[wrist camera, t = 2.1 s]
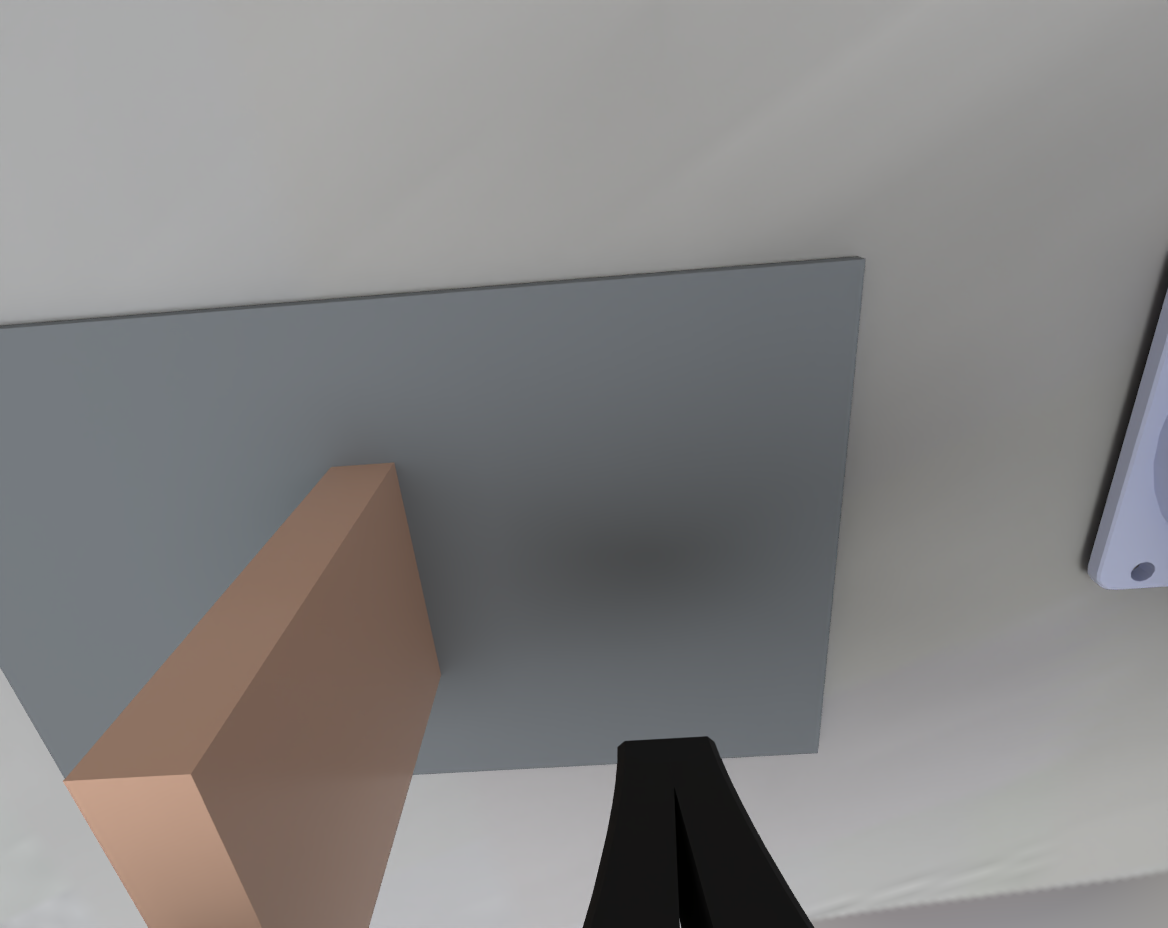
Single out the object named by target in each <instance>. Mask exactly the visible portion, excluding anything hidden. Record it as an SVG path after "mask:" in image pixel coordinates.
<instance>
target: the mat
mask: <svg viewBox="0 0 1168 928" xmlns="http://www.w3.org/2000/svg"><path fill="white" fill-rule="evenodd" d="M864 270H865V259H864V258H861V257H845V258H833V259H821V260H808V261H796V262H784V263H771V264H759V265H747V266H734V267H722V268H710V269H697V270H685V271H673V272H660V273H648V274H636V275H623V276H611V277H598V278H586V279H574V280H561V281H549V282H537V283H524V284H512V285H500V286H487V287H475V288H463V289H450V290H438V291H426V292H413V293H401V294H389V295H376V296H364V297H352V298H339V299H327V300H315V301H302V302H290V303H278V304H265V305H253V306H241V307H228V308H216V309H203V310H191V311H179V312H166V313H154V314H142V315H129V316H117V317H105V318H92V319H80V320H68V321H55V322H43V323H31V324H18V325H6V326H0V668H1V670H2V671H3V673H4V675H5V676H6V678H7V680H8V682H9V683H10V685H11V687H12V688H13V690H14V692H15V694H16V695H17V697H18V699H19V701H20V702H21V704H22V706H23V707H24V709H25V711H26V713H27V714H28V716H29V718H30V720H31V721H32V723H33V725H34V726H35V728H36V730H37V732H38V733H39V735H40V737H41V739H42V740H43V742H44V744H45V745H46V747H47V749H48V751H49V752H50V754H51V756H52V757H53V759H54V761H55V763H56V764H57V766H58V768H59V770H60V771H61V773H62V775H63V776H64V778H66V777H67V776H68V775H69V774H70V772H71V771H72V770H73V769H74V768H75V767H76V765H77V764H78V763H79V762H80V761H81V760H82V758H83V757H84V756H85V755H86V754H87V753H88V751H89V750H90V749H91V748H92V747H93V745H94V744H95V743H96V742H97V741H98V740H99V738H100V737H101V736H102V735H103V734H104V733H105V731H106V730H107V729H108V728H109V727H110V726H111V724H112V723H113V722H114V721H115V720H116V719H117V717H118V716H119V715H120V714H121V713H122V712H123V710H124V709H125V708H126V707H127V706H128V704H129V703H130V702H131V701H132V700H133V699H134V697H135V696H136V695H137V694H138V693H139V692H140V690H141V689H142V688H143V687H144V686H145V685H146V683H147V682H148V681H149V680H150V679H151V678H152V676H153V675H154V674H155V673H156V672H157V670H158V669H159V668H160V667H161V666H162V665H163V663H164V662H165V661H166V660H167V659H168V658H169V656H170V655H171V654H172V653H173V652H174V651H175V649H176V648H177V647H178V646H179V645H180V644H181V642H182V641H183V640H184V639H185V638H186V637H187V635H188V634H189V633H190V632H191V631H192V629H193V628H194V627H195V626H196V625H197V624H198V622H199V621H200V620H201V619H202V618H203V617H204V615H205V614H206V613H207V612H208V611H209V610H210V608H211V607H212V606H213V605H214V604H215V603H216V601H217V600H218V599H219V598H220V597H221V596H222V594H223V593H224V592H225V591H226V590H227V588H228V587H229V586H230V585H231V584H232V583H233V581H234V580H235V579H236V578H237V577H238V576H239V574H240V573H241V572H242V571H243V570H244V569H245V567H246V566H247V565H248V564H249V563H250V562H251V560H252V559H253V558H254V557H255V556H256V554H257V553H258V552H259V551H260V550H261V549H262V547H263V546H264V545H265V544H266V543H267V542H268V540H269V539H270V538H271V537H272V536H273V535H274V533H275V532H276V531H277V530H278V529H279V528H280V526H281V525H282V524H283V523H284V522H285V521H286V519H287V518H288V517H289V516H290V515H291V513H292V512H293V511H294V510H295V509H296V508H297V506H298V505H299V504H300V503H301V502H302V501H303V499H304V498H305V497H306V496H307V495H308V494H309V492H310V491H311V490H312V489H313V488H314V487H315V485H316V484H317V483H318V482H319V481H320V479H321V478H322V477H323V476H324V475H325V474H326V472H327V471H328V470H329V469H330V468H331V467H338V466H352V465H366V464H380V463H395V468H396V473H397V477H398V482H399V486H400V491H401V495H402V500H403V504H404V509H405V513H406V518H407V522H408V527H409V532H410V536H411V541H412V545H413V550H414V554H415V559H416V563H417V568H418V572H419V577H420V582H421V586H422V591H423V595H424V600H425V604H426V609H427V613H428V618H429V622H430V627H431V631H432V636H433V641H434V645H435V650H436V654H437V659H438V663H439V668H440V672H441V677H440V681H439V684H438V688H437V691H436V695H435V698H434V702H433V705H432V709H431V712H430V715H429V719H428V722H427V726H426V729H425V733H424V736H423V740H422V743H421V747H420V750H419V754H418V757H417V761H416V764H415V768H414V771H413V775H419V774H437V773H456V772H475V771H493V770H512V769H530V768H549V767H568V766H586V765H605V764H617V747H618V746H619V745H620V744H622V743H623V742H624V741H631V740H649V739H667V738H684V737H702V736H708V737H709V738H710V739H712V740H713V741H714V742H715V744H716V747H717V749H718V752H719V754H720V757H721V758H735V757H754V756H773V755H791V754H810V753H818V746H819V736H820V725H821V715H822V705H823V694H824V684H825V674H826V663H827V653H828V643H829V632H830V622H831V611H832V601H833V591H834V580H835V570H836V560H837V549H838V539H839V529H840V518H841V508H842V497H843V487H844V477H845V466H846V456H847V446H848V435H849V425H850V415H851V404H852V394H853V383H854V373H855V363H856V352H857V342H858V332H859V321H860V311H861V301H862V290H863V280H864Z"/></svg>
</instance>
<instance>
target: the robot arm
mask: <svg viewBox="0 0 1168 928" xmlns="http://www.w3.org/2000/svg"><path fill="white" fill-rule="evenodd" d="M1139 564H1140V565H1139ZM1137 565H1139V566H1138V567H1137V568H1135V569H1134V570H1133V568H1134V567H1136V566H1137ZM1088 574H1089V576H1090V578H1091V579H1092V580H1093V581H1095V582H1096V583H1097V584H1098V585H1099V586H1101V587H1103V588H1105V589H1110V590H1119V589H1135V588H1151V587H1167V586H1168V289H1167V293H1166V296H1165V300H1164V303H1163V307H1162V310H1161V313H1160V317H1159V320H1158V324H1157V327H1156V331H1155V334H1154V338H1153V341H1152V345H1151V348H1150V352H1149V355H1148V359H1147V362H1146V366H1145V369H1144V373H1143V376H1142V380H1141V383H1140V387H1139V390H1138V394H1137V397H1136V401H1135V404H1134V408H1133V411H1132V414H1131V418H1130V421H1129V425H1128V428H1127V432H1126V435H1125V439H1124V442H1123V446H1122V449H1121V453H1120V456H1119V460H1118V463H1117V467H1116V470H1115V474H1114V477H1113V481H1112V484H1111V488H1110V491H1109V495H1108V498H1107V502H1106V505H1105V508H1104V512H1103V515H1102V519H1101V522H1100V526H1099V529H1098V533H1097V536H1096V540H1095V543H1094V547H1093V550H1092V554H1091V557H1090V561H1089V564H1088ZM679 918H680V921H679ZM680 923H681V928H814V926H813V925H812V923H811V922H810V920H809V918H808V917H807V915H806V914H805V912H804V910H803V909H802V907H801V906H800V904H799V902H798V901H797V899H796V898H795V896H794V894H793V893H792V891H791V889H790V888H789V886H788V884H787V882H786V881H785V879H784V877H783V876H782V874H781V872H780V871H779V869H778V867H777V865H776V864H775V862H774V860H773V859H772V857H771V855H770V854H769V852H768V850H767V848H766V847H765V845H764V843H763V841H762V840H761V838H760V836H759V834H758V832H757V831H756V829H755V827H754V825H753V823H752V821H751V819H750V817H749V815H748V814H747V812H746V810H745V808H744V806H743V804H742V802H741V800H740V798H739V796H738V794H737V792H736V790H735V788H734V786H733V784H732V782H731V780H730V777H729V775H728V773H727V771H726V769H725V766H724V764H723V762H722V759H721V757H720V754H719V752H718V749H717V747H716V744H715V742H714V741H713V740H712V739H710V738H709V737H708V736H702V737H684V738H667V739H649V740H631V741H624V742H623V743H622V744H620V745H619V746H618V747H617V772H616V782H615V790H614V797H613V804H612V809H611V815H610V820H609V825H608V831H607V836H606V840H605V844H604V848H603V852H602V857H601V861H600V865H599V869H598V874H597V878H596V882H595V886H594V890H593V894H592V898H591V901H590V905H589V908H588V911H587V915H586V918H585V922H584V925H583V928H680Z"/></svg>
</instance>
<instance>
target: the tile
mask: <svg viewBox="0 0 1168 928" xmlns="http://www.w3.org/2000/svg"><path fill="white" fill-rule="evenodd" d="M440 677H441V672H440V668H439V663H438V659H437V654H436V650H435V645H434V641H433V636H432V631H431V627H430V622H429V618H428V613H427V609H426V604H425V600H424V595H423V591H422V586H421V582H420V577H419V572H418V568H417V563H416V559H415V554H414V550H413V545H412V541H411V536H410V532H409V527H408V522H407V518H406V513H405V509H404V504H403V500H402V495H401V491H400V486H399V482H398V477H397V473H396V468H395V463H380V464H366V465H352V466H338V467H331V468H330V469H329V470H328V471H327V472H326V474H325V475H324V476H323V477H322V478H321V479H320V481H319V482H318V483H317V484H316V485H315V487H314V488H313V489H312V490H311V491H310V492H309V494H308V495H307V496H306V497H305V498H304V499H303V501H302V502H301V503H300V504H299V505H298V506H297V508H296V509H295V510H294V511H293V512H292V513H291V515H290V516H289V517H288V518H287V519H286V521H285V522H284V523H283V524H282V525H281V526H280V528H279V529H278V530H277V531H276V532H275V533H274V535H273V536H272V537H271V538H270V539H269V540H268V542H267V543H266V544H265V545H264V546H263V547H262V549H261V550H260V551H259V552H258V553H257V554H256V556H255V557H254V558H253V559H252V560H251V562H250V563H249V564H248V565H247V566H246V567H245V569H244V570H243V571H242V572H241V573H240V574H239V576H238V577H237V578H236V579H235V580H234V581H233V583H232V584H231V585H230V586H229V587H228V588H227V590H226V591H225V592H224V593H223V594H222V596H221V597H220V598H219V599H218V600H217V601H216V603H215V604H214V605H213V606H212V607H211V608H210V610H209V611H208V612H207V613H206V614H205V615H204V617H203V618H202V619H201V620H200V621H199V622H198V624H197V625H196V626H195V627H194V628H193V629H192V631H191V632H190V633H189V634H188V635H187V637H186V638H185V639H184V640H183V641H182V642H181V644H180V645H179V646H178V647H177V648H176V649H175V651H174V652H173V653H172V654H171V655H170V656H169V658H168V659H167V660H166V661H165V662H164V663H163V665H162V666H161V667H160V668H159V669H158V670H157V672H156V673H155V674H154V675H153V676H152V678H151V679H150V680H149V681H148V682H147V683H146V685H145V686H144V687H143V688H142V689H141V690H140V692H139V693H138V694H137V695H136V696H135V697H134V699H133V700H132V701H131V702H130V703H129V704H128V706H127V707H126V708H125V709H124V710H123V712H122V713H121V714H120V715H119V716H118V717H117V719H116V720H115V721H114V722H113V723H112V724H111V726H110V727H109V728H108V729H107V730H106V731H105V733H104V734H103V735H102V736H101V737H100V738H99V740H98V741H97V742H96V743H95V744H94V745H93V747H92V748H91V749H90V750H89V751H88V753H87V754H86V755H85V756H84V757H83V758H82V760H81V761H80V762H79V763H78V764H77V765H76V767H75V768H74V769H73V770H72V771H71V772H70V774H69V775H68V776H67V777H66V778H65V779H64V781H63V782H64V784H65V785H66V787H67V789H68V790H69V792H70V794H71V796H72V797H73V799H74V801H75V802H76V804H77V806H78V808H79V809H80V811H81V813H82V815H83V816H84V818H85V820H86V821H87V823H88V825H89V827H90V828H91V830H92V832H93V833H94V835H95V837H96V839H97V840H98V842H99V844H100V845H101V847H102V849H103V851H104V852H105V854H106V856H107V857H108V859H109V861H110V863H111V864H112V866H113V868H114V869H115V871H116V873H117V875H118V876H119V878H120V880H121V881H122V883H123V885H124V887H125V888H126V890H127V892H128V893H129V895H130V897H131V899H132V900H133V902H134V904H135V905H136V907H137V909H138V911H139V912H140V914H141V916H142V917H143V919H144V921H145V923H146V924H147V926H148V928H369V925H370V921H371V918H372V914H373V911H374V907H375V904H376V900H377V897H378V893H379V890H380V886H381V883H382V879H383V876H384V872H385V869H386V865H387V862H388V858H389V855H390V851H391V848H392V844H393V841H394V837H395V834H396V830H397V827H398V824H399V820H400V817H401V813H402V810H403V806H404V803H405V799H406V796H407V792H408V789H409V785H410V782H411V778H412V775H413V771H414V768H415V764H416V761H417V757H418V754H419V750H420V747H421V743H422V740H423V736H424V733H425V729H426V726H427V722H428V719H429V715H430V712H431V709H432V705H433V702H434V698H435V695H436V691H437V688H438V684H439V681H440Z"/></svg>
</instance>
